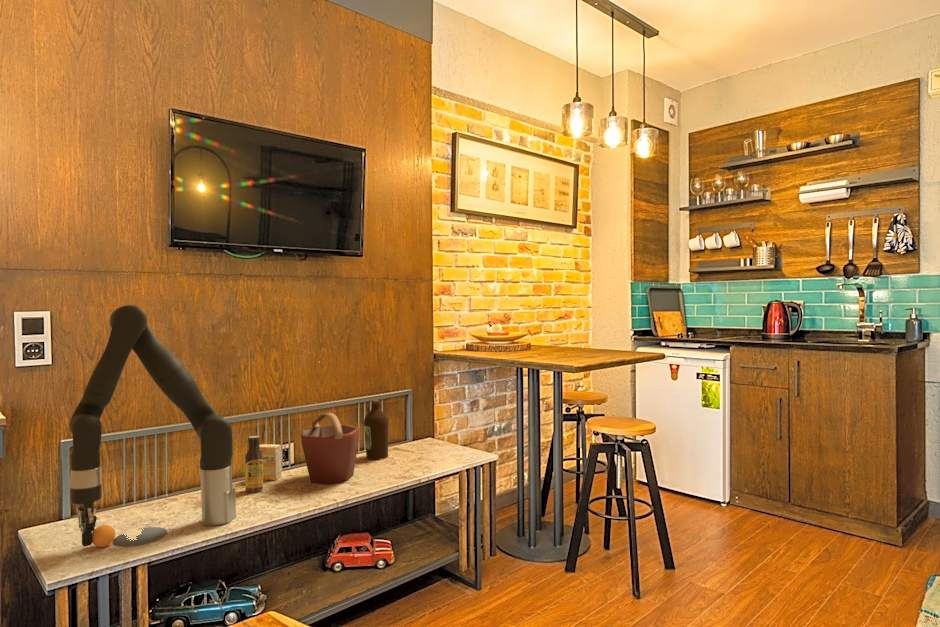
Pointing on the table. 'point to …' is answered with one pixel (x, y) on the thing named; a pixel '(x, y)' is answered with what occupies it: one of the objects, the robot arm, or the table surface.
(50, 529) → the table surface
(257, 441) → the sauce bottle
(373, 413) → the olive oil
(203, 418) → the robot arm
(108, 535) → the ball
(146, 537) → the dark grey flat disc
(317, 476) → the bucket
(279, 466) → the supplement box
